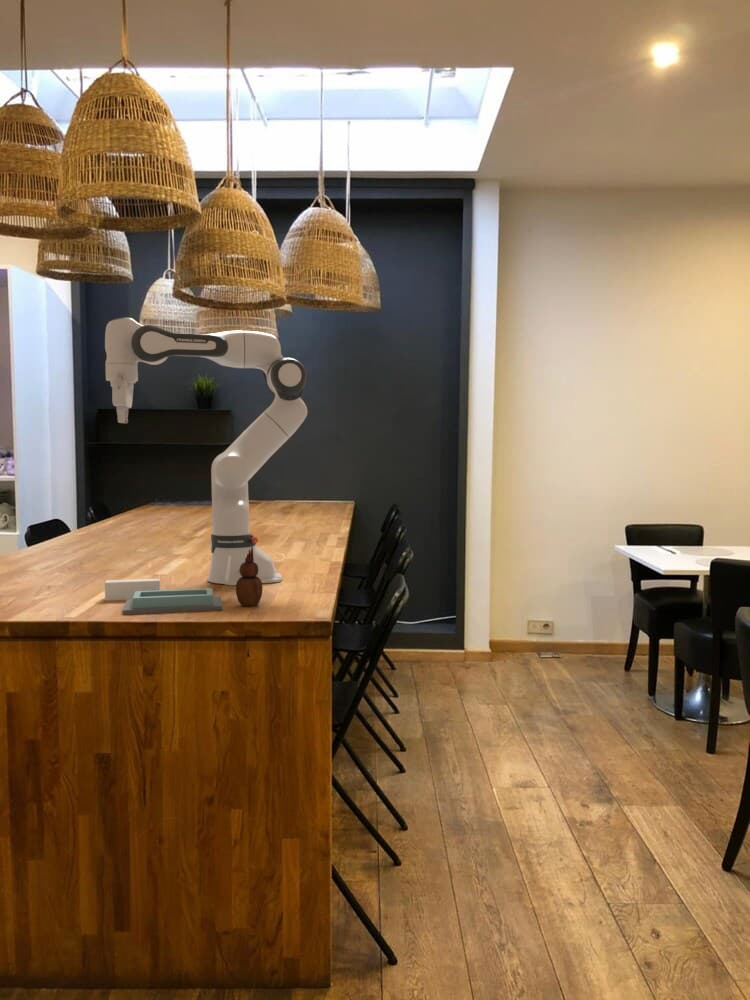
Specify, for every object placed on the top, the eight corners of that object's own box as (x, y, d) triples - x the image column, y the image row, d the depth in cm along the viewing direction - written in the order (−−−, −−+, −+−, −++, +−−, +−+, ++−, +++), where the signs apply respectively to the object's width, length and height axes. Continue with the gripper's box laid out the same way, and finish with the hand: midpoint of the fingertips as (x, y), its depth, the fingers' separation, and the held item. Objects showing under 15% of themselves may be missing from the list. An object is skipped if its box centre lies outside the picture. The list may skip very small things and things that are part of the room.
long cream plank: (160, 596, 209) (160, 578, 208) (159, 599, 205) (159, 580, 205) (106, 598, 206) (106, 580, 205) (105, 601, 202) (104, 582, 202)
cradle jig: (220, 599, 204) (220, 586, 204) (222, 610, 192) (222, 596, 192) (127, 603, 199) (127, 589, 199) (122, 614, 186) (122, 600, 186)
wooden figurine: (251, 601, 202) (251, 545, 201) (266, 604, 199) (266, 547, 197) (231, 605, 197) (231, 548, 196) (246, 608, 193) (246, 550, 192)
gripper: (130, 372, 210) (131, 422, 212) (135, 377, 230) (136, 423, 231) (106, 371, 209) (107, 422, 210) (114, 377, 229) (115, 423, 230)
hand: (122, 423), depth 221 cm, fingers open, 8 cm apart
